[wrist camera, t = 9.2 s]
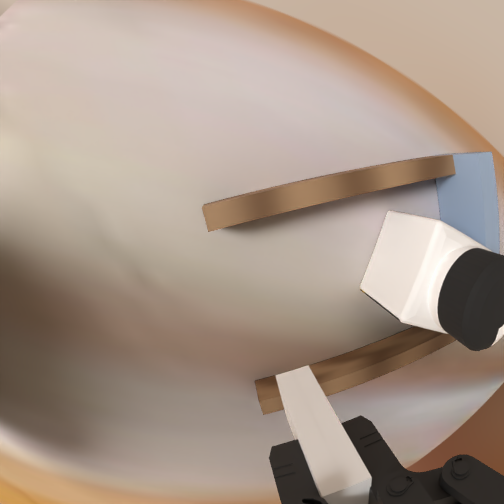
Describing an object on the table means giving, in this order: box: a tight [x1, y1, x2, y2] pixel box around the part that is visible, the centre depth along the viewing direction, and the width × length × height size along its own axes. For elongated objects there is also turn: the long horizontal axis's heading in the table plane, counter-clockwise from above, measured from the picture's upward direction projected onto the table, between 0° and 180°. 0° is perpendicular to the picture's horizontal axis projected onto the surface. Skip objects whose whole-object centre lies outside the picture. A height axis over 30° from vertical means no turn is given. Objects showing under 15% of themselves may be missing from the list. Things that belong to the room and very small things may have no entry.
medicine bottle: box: [360, 210, 504, 351], centre depth 19 cm, size 7×7×12 cm
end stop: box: [435, 152, 500, 254], centre depth 22 cm, size 2×17×6 cm, turn 14°
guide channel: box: [202, 155, 456, 415], centre depth 23 cm, size 20×17×3 cm
